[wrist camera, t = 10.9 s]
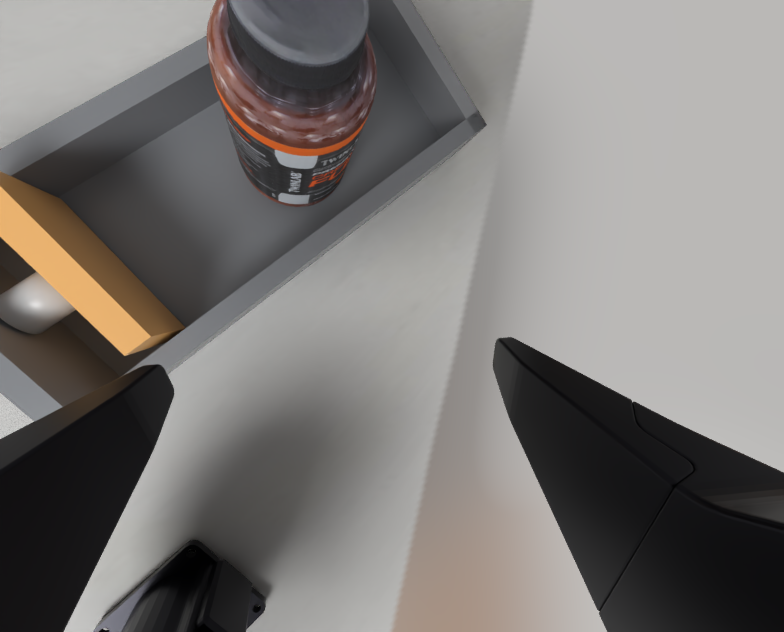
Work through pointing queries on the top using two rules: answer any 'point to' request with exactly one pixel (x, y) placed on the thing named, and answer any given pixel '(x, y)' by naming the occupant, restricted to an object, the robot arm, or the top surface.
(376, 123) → the tray
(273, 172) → the supplement bottle
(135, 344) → the pusher
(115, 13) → the top surface
